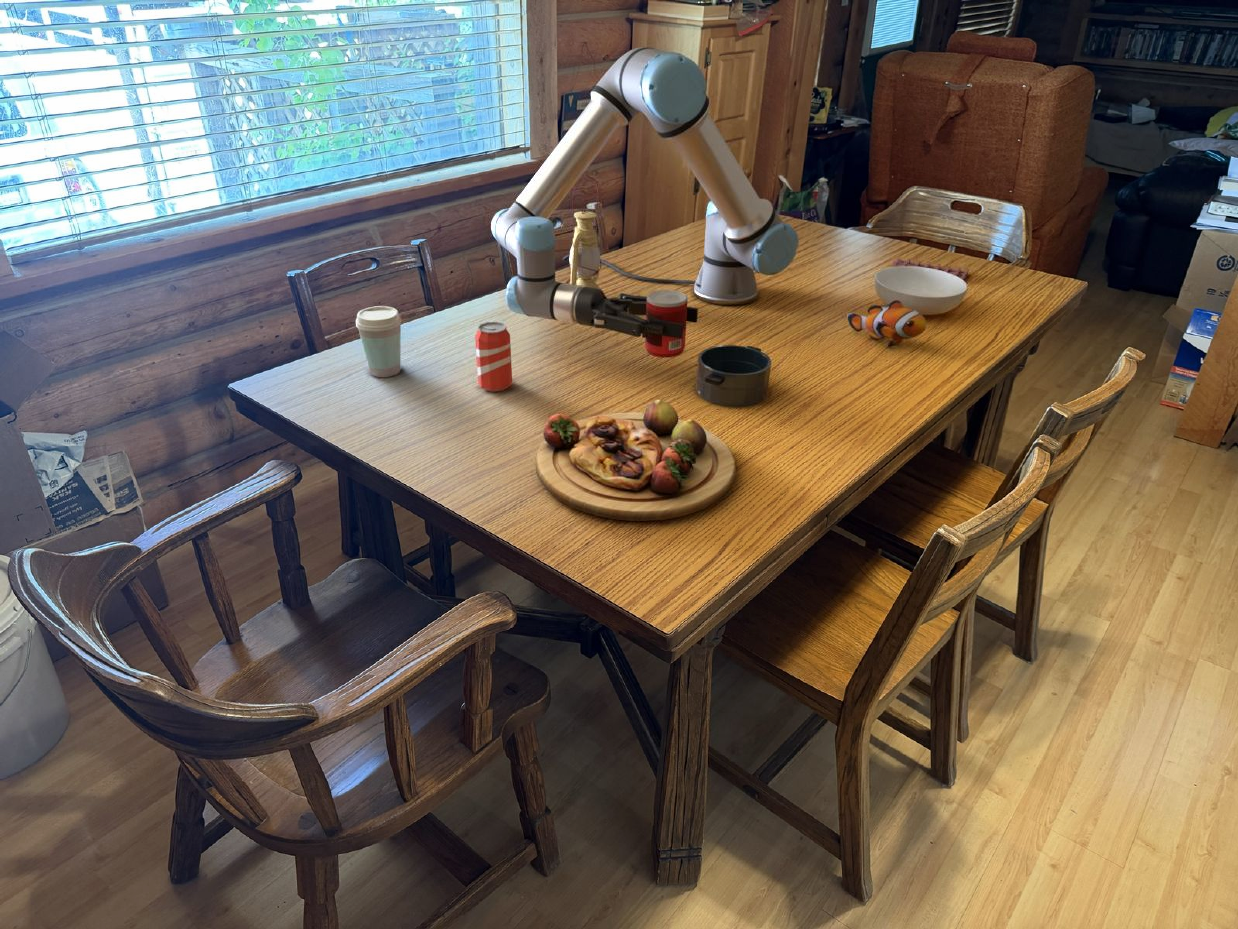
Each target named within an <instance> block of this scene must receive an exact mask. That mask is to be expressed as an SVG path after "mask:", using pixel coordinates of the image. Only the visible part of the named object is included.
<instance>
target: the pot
mask: <svg viewBox="0 0 1238 929" xmlns="http://www.w3.org/2000/svg"><path fill="white" fill-rule="evenodd" d="M696 362H697V363H696V377H695V391H696V394H697V395H698V396H699V397H700V398H701V399H703V400H704V401H706V402H709V403H710V404H714V405H717V406H721V407H722V406H723V407H730V408H745V407H752V406H755V405H758V404H761V403H762V402H763V401H765V400H766V399H767V398H768V394H769V388H770V382H771V381H770V379H771V372H772V363H773V362H772V360H771V358H770V356H769V355H767V354H766V353H765V352H764V351H762V350H761V351H759V350H756V349H753V348H749V347H747V346H744V345H736V344H721V345H715V346H710V347H708V348H705V349H703V350H701V351H700V352H699V354H698V355H697V361H696ZM710 374H714V375H718V376H722V377H725V378H724V382H723V383H722V384H721V385H719V386H717V385H714V384H710V383H707V382H705V378H706V377H707V376H708V375H710Z"/></svg>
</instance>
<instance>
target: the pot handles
mask: <svg viewBox="0 0 1238 929" xmlns="http://www.w3.org/2000/svg"><path fill="white" fill-rule="evenodd" d="M746 347H749V348H753V349H756V350H759V351H761V352H762V348H760V347H756V346H752V345H747V346H746ZM724 378H725V377H722V376H718V375H714V374H710V375H708V376H707V377H706V378H705V382H707V383H710V384H714V385H717V386H719V385H721V384H722V383H723V382H724Z"/></svg>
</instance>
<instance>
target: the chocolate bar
mask: <svg viewBox="0 0 1238 929" xmlns="http://www.w3.org/2000/svg"><path fill="white" fill-rule="evenodd" d="M898 266H914V267H924V268H931V269H936V270H940V271H944V272H947V273H950V274H953V275H955V276H957V277H959V278H961V279H962V280H963V281H965V280H966V279H967V278H968V276H969V270H970V269H969V268H965V270H962V268H961V267H957V269H955V268H951V265H947V267H944V266H941V264H940V263H937V264H936V265H931V262H929V261H928V262H926V263H921V260H917V261H916V262H913V261H911V259H910V258H907V259H906V260H901V259H900V257H897V258H895V259H894V260H893V262H892V264H891V265H890V267H898Z"/></svg>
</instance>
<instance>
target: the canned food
mask: <svg viewBox="0 0 1238 929" xmlns="http://www.w3.org/2000/svg"><path fill="white" fill-rule="evenodd" d="M646 297H647V305H646V315H645V319H646V320H648V323H649V319H658V320H664V321H670V322H676V323H682V324H683V338H682V339H680V338H674V337H668V336H662V335H656V334H651V333H649V332H648V337H647V338H645V350H646V352H647V354H649V355H650V356H653V357H656V358H662V359H663V358H664V359H665V358H666V359H667V358H669V359H670V358H675V357H678V356H680V355H682V354H683V353H684V350H685V347H686V335H687V321H686V320H687V307H688V295H687V294H686V293H684V292H682V291H679V290H675V289H658V290H654V291H651V292H649V293H648V294H647V296H646Z"/></svg>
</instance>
